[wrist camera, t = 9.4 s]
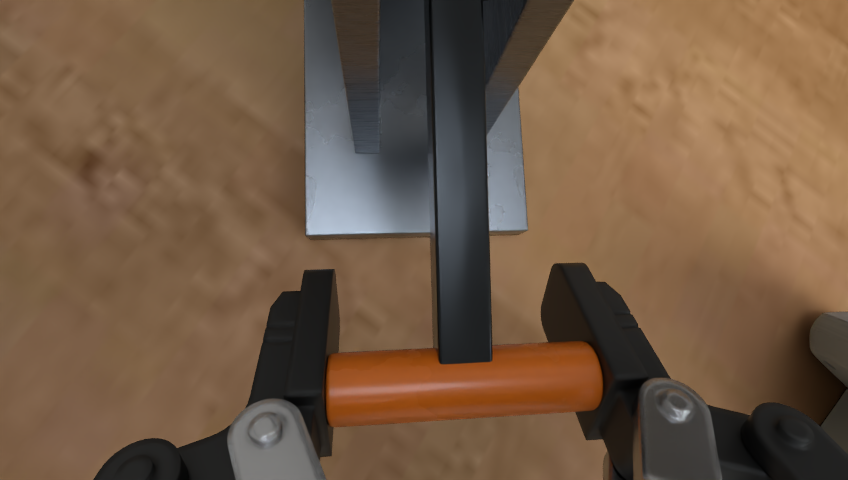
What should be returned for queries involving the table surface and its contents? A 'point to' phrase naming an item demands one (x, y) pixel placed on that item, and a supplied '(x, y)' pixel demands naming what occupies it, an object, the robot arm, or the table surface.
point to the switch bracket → (404, 114)
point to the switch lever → (459, 276)
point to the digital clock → (833, 367)
